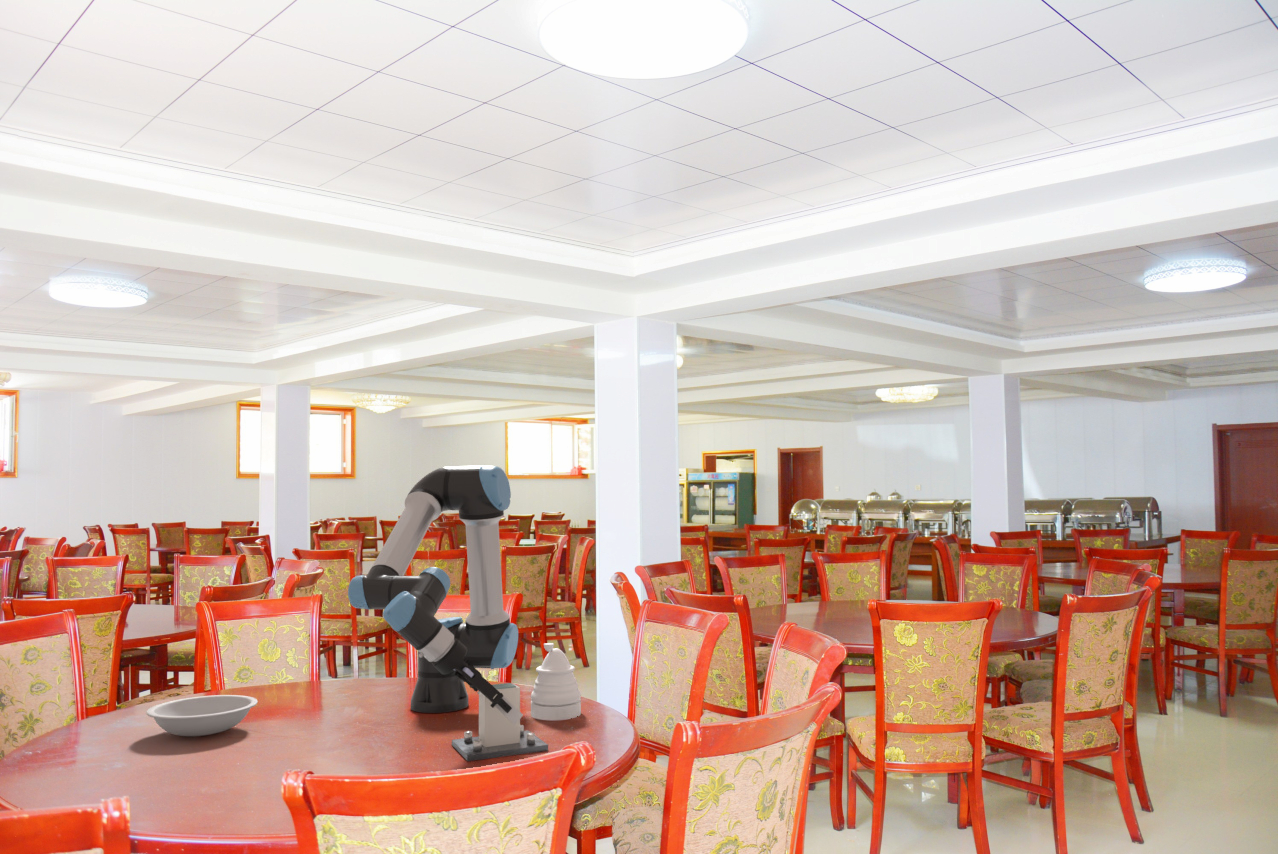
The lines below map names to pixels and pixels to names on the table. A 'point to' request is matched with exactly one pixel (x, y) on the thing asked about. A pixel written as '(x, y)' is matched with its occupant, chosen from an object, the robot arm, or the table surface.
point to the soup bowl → (201, 714)
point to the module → (498, 718)
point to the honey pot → (555, 688)
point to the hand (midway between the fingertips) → (509, 713)
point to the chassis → (476, 751)
